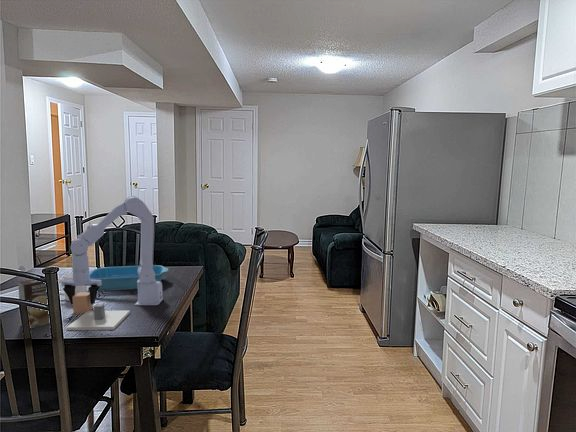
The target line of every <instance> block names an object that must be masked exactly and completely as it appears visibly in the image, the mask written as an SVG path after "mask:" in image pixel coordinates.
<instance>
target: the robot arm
mask: <svg viewBox="0 0 576 432" xmlns="http://www.w3.org/2000/svg"><path fill="white" fill-rule="evenodd" d="M128 213H129V214H132V215H133V216H136V217H137V218H138V219H139V220H140V257H139V258H140V259H139V265H138V266H139V267H138V269H137V273H138V275H139V280H138V281H137V287H138V289H137V301H136V303H134V306H158V305H160V303H161V302H162V301H163V300H164V298H163V297H164V296H163V295H164V294H163V283H162V281H161V282H160V281H156V279H155V272H154V270H153V265H154V264H153V263H154V262H153V261H154V260H153V250H154V249H153V244H154V243H153V242H154V241H153V240H154V239H153V237H154V215H153V213H152V212H151V211H150V209H149V207H148V206H147V205H146V203H145V202H144V201H143V200H141V199H140V198H139V197H137V196H134V195H131V196H128V197H127V198H125V200H123V201H121V202H120V203H118V204H117V205H116V206H115V207H114V208H112V209H111V210H110V211H109V213H108V214H106V215H105V216H104V217H103V218H102V219H101V220H100V221H99V222H98V223H92V224H88V225H87V226H86V229H85V230H84V231H83V232H82V233H81V234H78V235H76V237H77V238H74V239H73V241H72V242H71V244H70V247H69V248H70V251H71V257H72V258H71V268H72V269H71V270H72V273H73V280H63V281H61V283H60V284H61V287H63V289H62V290H63V292H65V293H66V294H67V296H68V298H69V300H70V301H69V303H70V305H72V306H73V299H72V297H73V296H74V295H75V286H86V287H87V286H89V287H88V288H87V289H88V292H89V293H90V302H91V304H93V305H94V304H95V303H96V298H97V294H98V291H99V290H98V289H99V287H100V285H102V280H96V279H90V276H89V271H90V265H89V264H90V263H89V256H88V249H89V247H91V246H93V245H94V244H95V243H96V242H97V241H99V240H100V239H101V237H103V236H104V234H105V229H106V228H107V227H109V226H110V225H111V224H112V223H113V222H115V221H116V220H117V219H118V218H119V217H122V216H125V215H126V216H127V215H128ZM64 286H65V287H64Z"/></svg>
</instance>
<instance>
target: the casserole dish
mask: <svg viewBox="0 0 576 432" xmlns="http://www.w3.org/2000/svg"><path fill="white" fill-rule="evenodd" d="M138 267H139V265H125V266H124V265H122V266H106V267H99V268H95V269H93V270H89V276H90V279H96V280H102V285H100V287H99V289H98V291H100V292H101V291H105V292H106V291H107V292H108V291H124V290H125V291H126V290H138V287H137V281H138V280H139V275H138V273H137V269H138ZM153 270H154V272H155V279H156V281H160V282H162V278H163V275H164V274H167V273H168V272H169V268H168V267H165V266H163V265H158V264H157V265H156V264H153Z"/></svg>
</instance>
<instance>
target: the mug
mask: <svg viewBox="0 0 576 432" xmlns="http://www.w3.org/2000/svg"><path fill="white" fill-rule="evenodd" d="M63 280H73V272H71V273H70V272H69V273H67V274H66V273H65V274H64V275H63V278H59V279H58V280H57V281H59V285H60V284H61V281H63ZM64 287H65V286H63V288H64ZM79 292H87V286H75V295H76V294H77V293H79ZM59 296H63V297H64V299H65V300H66V301H67V302H70V300H69V298H68V296H67V294H66V293H65V291H61V290H60V295H59Z"/></svg>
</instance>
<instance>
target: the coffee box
mask: <svg viewBox="0 0 576 432" xmlns="http://www.w3.org/2000/svg"><path fill="white" fill-rule="evenodd" d="M17 284H18V298H19V299H23V300H29V301H33V302H40V303H44V304H47V292H46V284H45V283H43V282H39V281H35V280H31V279H25V280H20V281H17ZM19 299H18V300H19ZM28 314H29V322H30V327H31V329H34V328H38V327H44V326H46V325H50V324H49V314H48V311H45V310H40V309H36V308H32V307H28Z"/></svg>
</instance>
